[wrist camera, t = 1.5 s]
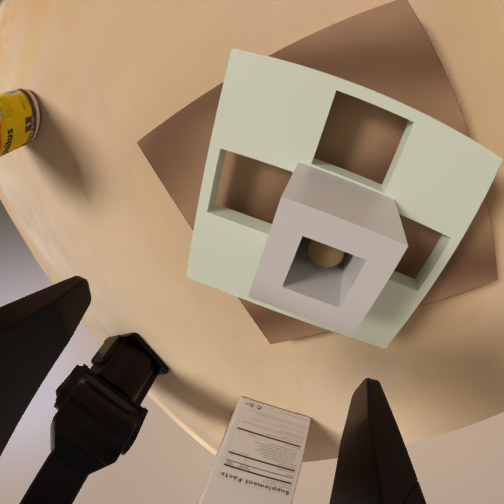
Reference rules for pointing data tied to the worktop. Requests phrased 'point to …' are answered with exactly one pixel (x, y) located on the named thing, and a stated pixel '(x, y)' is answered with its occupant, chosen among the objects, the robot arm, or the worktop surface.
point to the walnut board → (335, 148)
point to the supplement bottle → (17, 119)
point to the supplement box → (257, 456)
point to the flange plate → (330, 203)
